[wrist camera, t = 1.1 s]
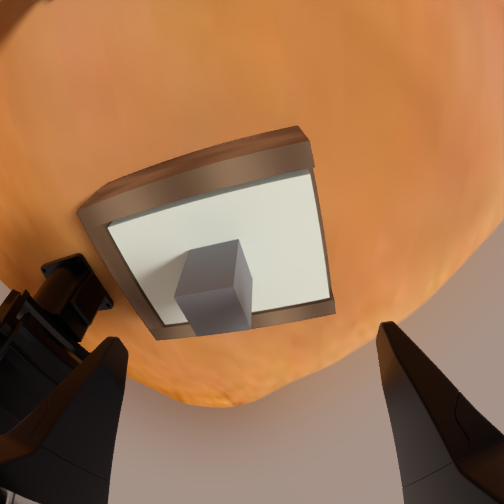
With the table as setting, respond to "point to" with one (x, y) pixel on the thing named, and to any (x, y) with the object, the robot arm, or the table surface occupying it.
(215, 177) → the box
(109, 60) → the table surface
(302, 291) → the cover
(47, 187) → the table surface
